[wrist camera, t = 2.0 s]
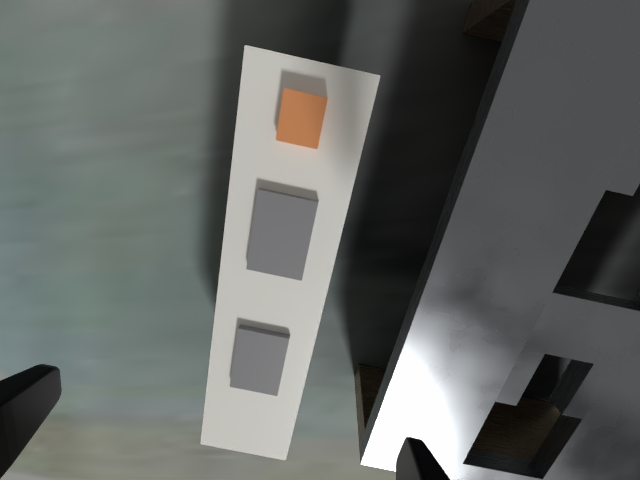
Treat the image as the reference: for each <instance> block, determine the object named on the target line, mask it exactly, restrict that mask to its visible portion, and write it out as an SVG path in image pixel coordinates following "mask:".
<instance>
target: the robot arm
mask: <svg viewBox="0 0 640 480" xmlns="http://www.w3.org/2000/svg"><path fill="white" fill-rule="evenodd" d="M60 395H61V379H60V370H59V369H58V367H56V366H51V365H46V364H40V365H36V366H34V367H32V368H29V369H27V370H24V371H22V372H20V373H17V374H15V375H13V376H10V377H8V378H6V379H3V380H1V381H0V478H1V477H2V476H3V475H4V474H5V472H6V471H7V470H8V469H9V468H10V466H11V465H12V464H13V462H14V461H15V460H16V459H17V457H18V456H19V455H20V453H21V452H22V450H23V449H24V448H25V446H26V445H27V443H28V442H29V441H30V439H31V438H32V436H33V435H34V434H35V432H36V431H37V430H38V428H39V427H40V425H41V424H42V423H43V421H44V420H45V418H46V417H47V416H48V414H49V413H50V411H51V410H52V409H53V407H54V406H55V404H56V403H57V402H58V400H59V398H60ZM396 480H450V478H449V477H448V475H447V474H446V473H445V471H444V470H443V468H442V467H441V465H440V464H439V463H438V461H437V460H436V458H435V457H434V455H433V454H432V453H431V451H430V450H429V448H428V447H427V445H426V444H425V443H424V442H423V441H422V440H421V439H418V438H413V437H406V438H405V439H404V441H403V444H402V446H401V449H400V451H399V453H398V456H397V459H396Z"/></svg>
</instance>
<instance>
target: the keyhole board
mask: <svg viewBox="0 0 640 480" xmlns="http://www.w3.org/2000/svg"><path fill="white" fill-rule="evenodd" d="M462 33H464V34H468V35H473V36H477V37H481V38H486V39H490V40H494V41H499V42H502V43H501V45H500V48H499V51H498V54H497V57H496V60H495V62H494V65H493V68H492V71H491V74H490V77H489V80H488V82H487V85H486V88H485V91H484V94H483V97H482V99H481V102H480V105H479V108H478V111H477V114H476V116H475V119H474V122H473V125H472V128H471V131H470V133H469V136H468V139H467V142H466V145H465V148H464V150H463V153H462V156H461V159H460V162H459V165H458V167H457V170H456V173H455V176H454V179H453V182H452V184H451V187H450V190H449V193H448V196H447V199H446V201H445V204H444V207H443V210H442V213H441V216H440V218H439V221H438V224H437V227H436V230H435V233H434V236H433V238H432V241H431V244H430V247H429V250H428V253H427V255H426V258H425V261H424V264H423V267H422V270H421V272H420V275H419V278H418V281H417V284H416V287H415V289H414V292H413V295H412V298H411V301H410V304H409V306H408V309H407V312H406V315H405V318H404V321H403V323H402V326H401V329H400V332H399V335H398V338H397V340H396V343H395V346H394V349H393V352H392V355H391V357H390V360H389V363H388V366H387V369H381V368H376V367H371V366H366V365H361V364H359V365H358V368H357V371H356V374H355V378H354V379H355V393H356V407H357V421H358V435H359V449H360V464H362V465H367V466H372V467H377V468H382V469H387V470H393V471H396V459H397V456H398V453H399V451H400V449H401V446H402V444H403V441H404V439H405V438H406V437H413V438H418V439H421V440H422V441H423V442H424V443H425V444H426V445H427V447H428V448H429V450H430V451H431V453H432V454H433V455H434V457H435V458H436V460H437V461H438V463H439V464H440V465H441V467H442V468H443V470H444V471H445V473H446V474H447V475H448V477H449V478H450V480H640V288H639V290H638V291H637V293H636V295H635V296H634V298H633V299H632V301H630V300H625V299H620V298H615V297H611V296H606V295H601V294H597V293H592V292H587V291H583V290H578V289H573V288H568V287H564V286H559V285H556V284H557V282H558V280H559V278H560V277H561V275H562V273H563V271H564V269H565V267H566V265H567V263H568V261H569V259H570V257H571V256H572V254H573V252H574V250H575V248H576V246H577V244H578V242H579V240H580V238H581V236H582V235H583V233H584V231H585V229H586V227H587V225H588V223H589V221H590V219H591V217H592V215H593V214H594V212H595V210H596V208H597V206H598V204H599V202H600V200H601V198H602V196H603V194H604V193H605V191H606V190H608V191H613V192H617V193H622V194H626V195H631V196H633V195H634V193H635V191H636V189H637V188H638V186H639V184H640V0H474V1H473V2H472V4H471V7H470V10H469V13H468V16H467V20H466V23H465V26H464V29H463V32H462ZM545 354H549V355H554V356H558V357H563V358H568V359H572V360H571V361H570V363H569V365H568V366H567V368H566V370H565V371H564V373H563V375H562V376H561V378H560V380H559V381H558V383H557V385H556V386H555V388H554V390H553V391H552V393H551V395H550V396H549V399H550V400H551V401H552V403H549V402H544V401H539V400H534V399H529V398H524V397H521V396H522V394H523V392H524V391H525V389H526V387H527V385H528V383H529V382H530V380H531V378H532V376H533V374H534V373H535V371H536V369H537V367H538V365H539V364H540V362H541V360H542V358H543V356H544V355H545Z"/></svg>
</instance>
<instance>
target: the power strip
mask: <svg viewBox="0 0 640 480" xmlns="http://www.w3.org/2000/svg"><path fill="white" fill-rule="evenodd" d="M379 80H380V76H379V75H375V74H371V73H366V72H362V71H357V70H353V69H349V68H344V67H340V66H336V65H331V64H327V63H322V62H318V61H314V60H309V59H305V58H300V57H296V56H292V55H287V54H283V53H278V52H274V51H270V50H265V49H261V48H257V47H252V46H248V45H245V47H244V56H243V65H242V74H241V83H240V92H239V101H238V110H237V119H236V128H235V137H234V146H233V155H232V164H231V173H230V182H229V191H228V200H227V209H226V218H225V227H224V236H223V245H222V254H221V263H220V272H219V281H218V290H217V299H216V308H215V317H214V326H213V335H212V344H211V353H210V362H209V371H208V380H207V389H206V398H205V407H204V417H203V426H202V435H201V444H203V445H208V446H213V447H218V448H223V449H229V450H234V451H239V452H244V453H249V454H255V455H260V456H265V457H270V458H275V459H281V460H286V457H287V453H288V449H289V445H290V441H291V437H292V433H293V429H294V425H295V421H296V417H297V413H298V409H299V405H300V401H301V397H302V392H303V388H304V384H305V380H306V376H307V372H308V368H309V364H310V360H311V356H312V352H313V348H314V344H315V340H316V336H317V332H318V327H319V323H320V319H321V315H322V311H323V307H324V303H325V299H326V295H327V291H328V287H329V283H330V279H331V275H332V271H333V267H334V263H335V258H336V254H337V250H338V246H339V242H340V238H341V234H342V230H343V226H344V222H345V218H346V214H347V210H348V206H349V202H350V198H351V193H352V189H353V185H354V181H355V177H356V173H357V169H358V165H359V161H360V157H361V153H362V149H363V145H364V141H365V137H366V133H367V128H368V124H369V120H370V116H371V112H372V108H373V104H374V100H375V96H376V92H377V88H378V84H379Z"/></svg>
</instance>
